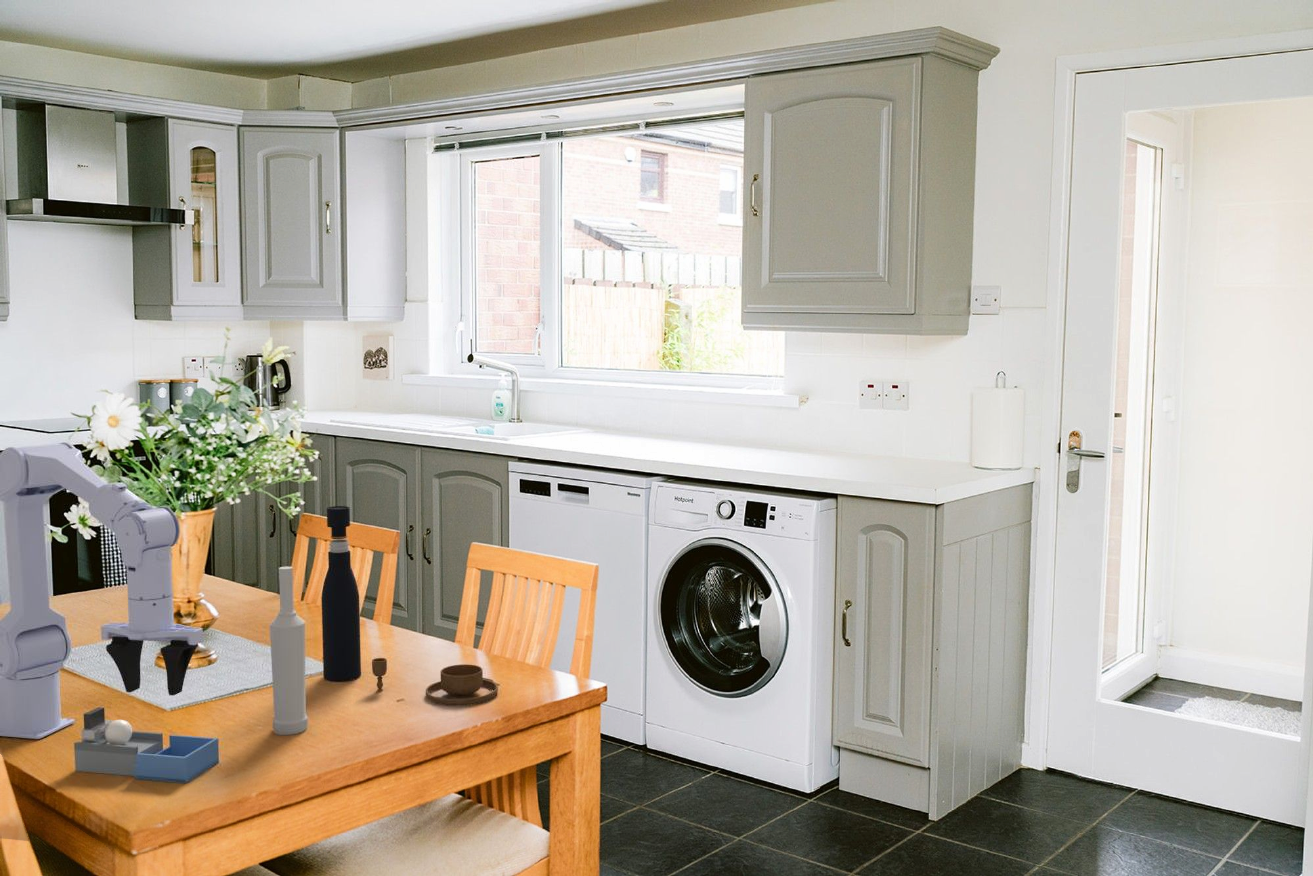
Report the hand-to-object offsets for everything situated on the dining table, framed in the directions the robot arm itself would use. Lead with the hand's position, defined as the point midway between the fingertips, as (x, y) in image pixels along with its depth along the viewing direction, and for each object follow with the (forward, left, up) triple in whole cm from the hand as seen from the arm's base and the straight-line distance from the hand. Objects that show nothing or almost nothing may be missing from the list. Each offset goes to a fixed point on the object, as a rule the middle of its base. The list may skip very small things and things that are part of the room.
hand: (154, 691), depth 163 cm
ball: (-5, -2, -6) cm, 8 cm away
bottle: (+11, +17, -11) cm, 23 cm away
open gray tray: (-4, -2, -10) cm, 11 cm away
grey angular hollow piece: (-8, -2, -7) cm, 11 cm away
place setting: (+27, +40, -11) cm, 50 cm away
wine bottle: (+6, +44, -11) cm, 46 cm away
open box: (+4, -2, -10) cm, 11 cm away
